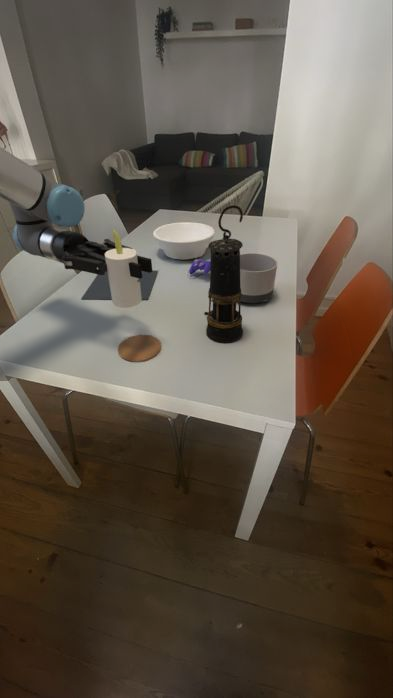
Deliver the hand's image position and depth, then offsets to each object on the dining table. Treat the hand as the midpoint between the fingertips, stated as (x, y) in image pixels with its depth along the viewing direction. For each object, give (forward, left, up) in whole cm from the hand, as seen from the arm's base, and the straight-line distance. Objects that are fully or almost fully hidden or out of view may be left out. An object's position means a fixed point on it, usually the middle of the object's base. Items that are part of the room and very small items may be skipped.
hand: (145, 268), depth 63 cm
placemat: (-16, +33, -20) cm, 41 cm away
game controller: (+10, +40, -20) cm, 46 cm away
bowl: (+2, +59, -20) cm, 62 cm away
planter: (+24, +26, -20) cm, 41 cm away
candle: (-5, +2, -8) cm, 10 cm away
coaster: (-4, 0, -20) cm, 20 cm away
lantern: (+16, +7, -20) cm, 27 cm away
